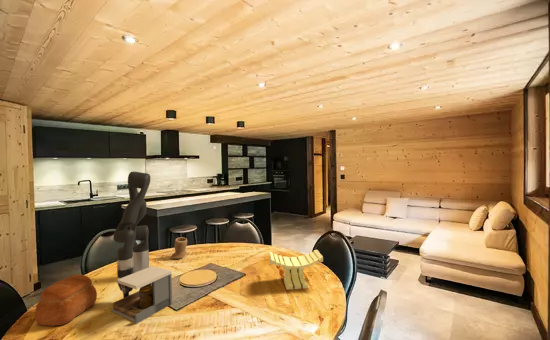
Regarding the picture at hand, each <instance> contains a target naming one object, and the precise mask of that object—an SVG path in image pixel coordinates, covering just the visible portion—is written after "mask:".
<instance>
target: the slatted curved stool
mask: <svg viewBox="0 0 550 340" xmlns="http://www.w3.org/2000/svg"><path fill="white" fill-rule="evenodd" d="M268 255H269V261H268V262H269V265H275V266H276V267H279V266H280V267H281V268H283V269H284V277H283V282H284V285H285V288H286V290H300V289H302V290H303V289H310V287H309V285H308V283H307V281H306V278H305V276H304V269H305V268H310V266H314V264H319V262H320V263H322V262H324V256H323V254H321V253H320V251H319V250H318V249H315V250H313V251H310V252H308V253H306V254H304V255H299V256H290V257H289V256H282V255H278V254H277V253H273V252H272V251H269V253H268Z"/></svg>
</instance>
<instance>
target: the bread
mask: <svg viewBox="0 0 550 340" xmlns="http://www.w3.org/2000/svg"><path fill="white" fill-rule="evenodd" d="M97 295H98V293H97V289H96V287H95V286H94V285H93V280H92V279H91V277H90V276H88V275H85V274H73V275H68V276H67V277H66V278H63V279H60V280H58V281H56V282H54V283H53V284H52V285H50V286H48V287H45V289H44V290H43V291H42V292H41V294H40V295H39V300H38V302H37V304H36V306H35V310H34V320H35V323H36V324H37V325H40V326H45V327H47V326H49V327H51V326H53V327H55V326H62V325H66V324H68V323H70V322H71V321H73V320H74V319H75V318H76V317H77V316H79V315H81V314H83V313H84V311H86V310H88V309H89V308H91V307H92V306H93V305H95V304H96V301H97V298H98V297H97Z"/></svg>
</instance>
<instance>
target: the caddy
mask: <svg viewBox="0 0 550 340" xmlns="http://www.w3.org/2000/svg"><path fill="white" fill-rule="evenodd" d="M152 296H153V295H152ZM153 302H154V297H153ZM137 305H140V299H139V290H138V291H136V292H134V293H131V294H129V296H127V297H125V298H121V299H120V298H119V300H116V301H114V302H112V309H114V310H117V311H119V312H121V313H123V314H126V315H128V316H130V317H132V318H135V314H137V313H136V312H133V311H132V310H130V309H133V307H135V306H137Z"/></svg>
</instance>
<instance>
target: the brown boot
mask: <svg viewBox="0 0 550 340" xmlns="http://www.w3.org/2000/svg"><path fill="white" fill-rule="evenodd" d="M187 245H188V239H187V237H183V236H181V237H177V238H175V240H174V253H173V254H172V255H171V257H170V258H171V259H174V260H177V259H178V260H179V259H183V258H184V257H186V255H187V252H188V251H187V250H186V248H187Z"/></svg>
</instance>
